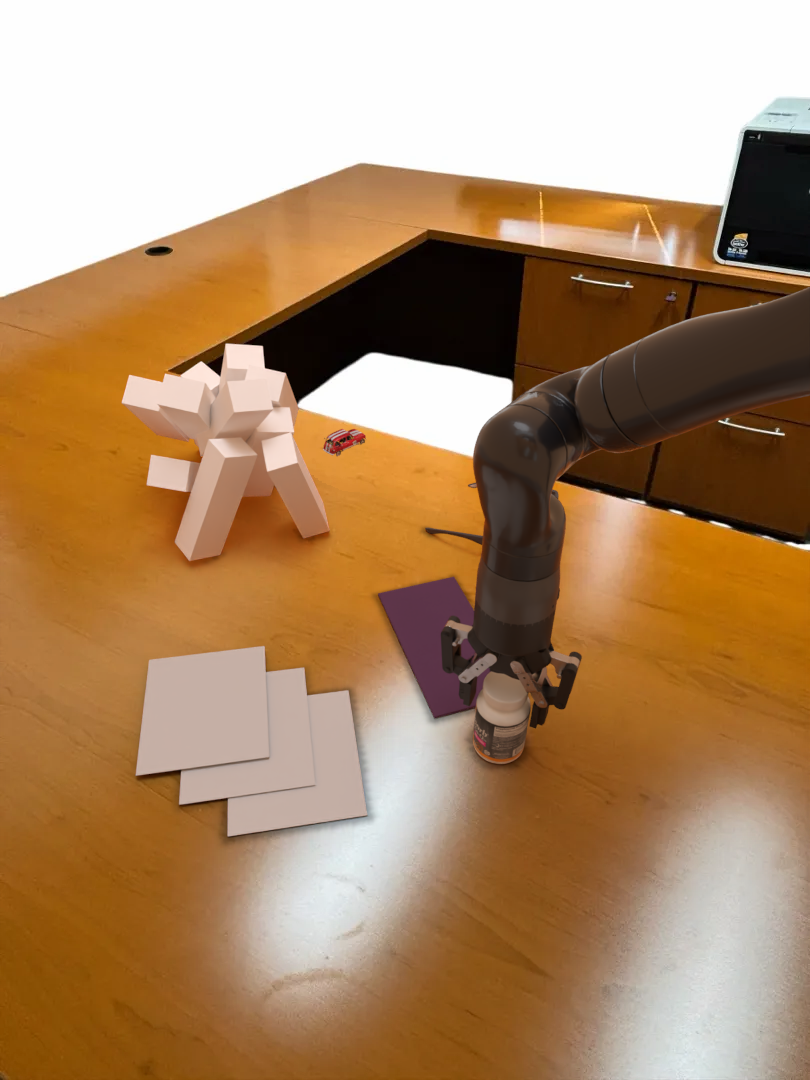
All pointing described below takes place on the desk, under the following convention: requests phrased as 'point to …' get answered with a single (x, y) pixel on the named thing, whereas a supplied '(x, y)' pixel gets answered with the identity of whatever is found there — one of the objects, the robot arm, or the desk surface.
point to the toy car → (343, 441)
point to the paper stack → (251, 740)
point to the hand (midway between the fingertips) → (502, 710)
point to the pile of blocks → (227, 445)
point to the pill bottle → (501, 719)
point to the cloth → (431, 638)
